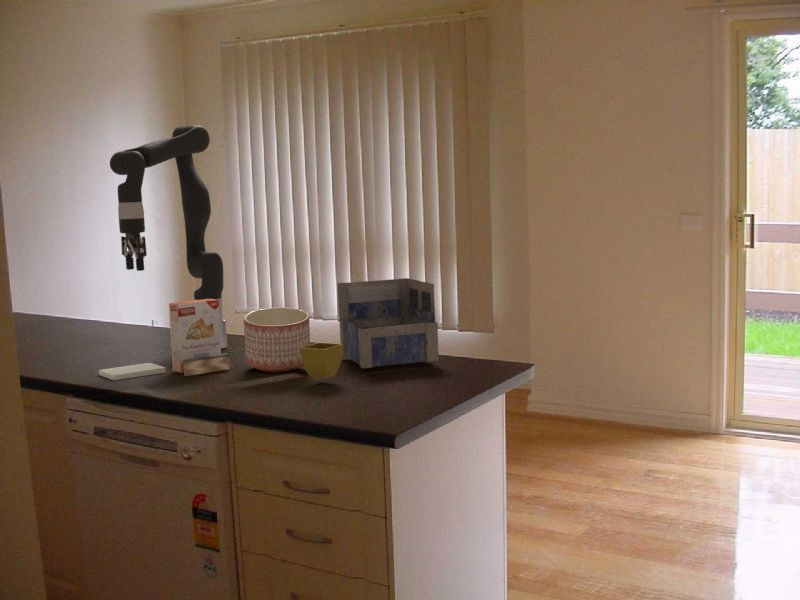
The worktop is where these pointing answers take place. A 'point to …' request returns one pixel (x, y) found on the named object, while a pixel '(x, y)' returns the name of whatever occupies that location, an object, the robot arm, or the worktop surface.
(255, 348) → the planter
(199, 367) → the tear rail
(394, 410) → the worktop surface
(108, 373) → the plate
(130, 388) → the worktop surface
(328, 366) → the flower pot
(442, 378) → the worktop surface
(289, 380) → the worktop surface
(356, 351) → the building
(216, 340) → the cracker box
